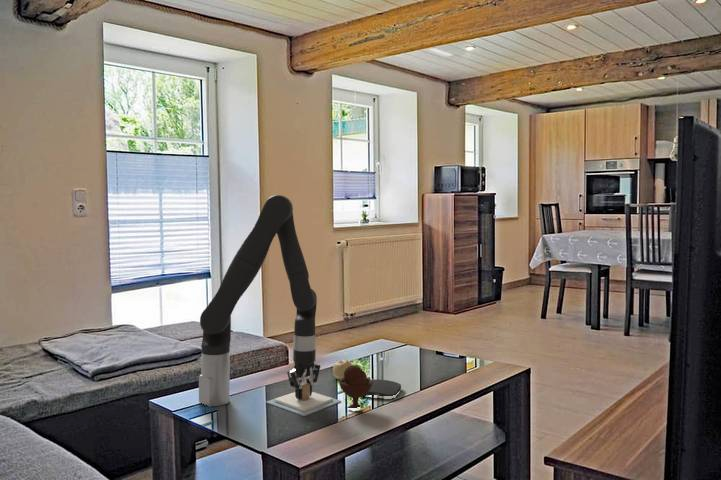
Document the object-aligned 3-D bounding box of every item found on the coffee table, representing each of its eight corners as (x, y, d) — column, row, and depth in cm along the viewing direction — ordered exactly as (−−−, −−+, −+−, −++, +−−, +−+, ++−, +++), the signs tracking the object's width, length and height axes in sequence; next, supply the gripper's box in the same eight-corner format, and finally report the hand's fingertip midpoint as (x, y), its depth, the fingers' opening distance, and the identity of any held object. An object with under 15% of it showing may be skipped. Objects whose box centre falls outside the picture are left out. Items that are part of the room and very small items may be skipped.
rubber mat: (303, 416, 194) (303, 415, 194) (266, 402, 205) (266, 401, 205) (341, 402, 208) (341, 400, 208) (304, 390, 219) (304, 389, 219)
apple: (358, 378, 234) (354, 363, 230) (340, 388, 231) (336, 374, 227) (349, 366, 240) (345, 352, 236) (331, 376, 237) (327, 362, 233)
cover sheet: (303, 411, 197) (303, 393, 196) (274, 401, 205) (274, 384, 205) (332, 400, 207) (333, 384, 207) (303, 391, 216) (303, 375, 216)
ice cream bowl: (372, 415, 196) (373, 369, 194) (337, 414, 196) (338, 369, 195) (372, 404, 206) (373, 360, 205) (339, 403, 206) (340, 359, 205)
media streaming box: (402, 389, 224) (403, 381, 224) (394, 402, 210) (394, 393, 210) (364, 384, 228) (364, 377, 227) (353, 397, 214) (354, 389, 213)
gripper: (297, 353, 197) (296, 405, 198) (327, 345, 208) (326, 394, 209) (281, 349, 202) (280, 399, 203) (311, 341, 213) (310, 389, 214)
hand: (303, 396), depth 206 cm, fingers closed on cover sheet, 4 cm apart
